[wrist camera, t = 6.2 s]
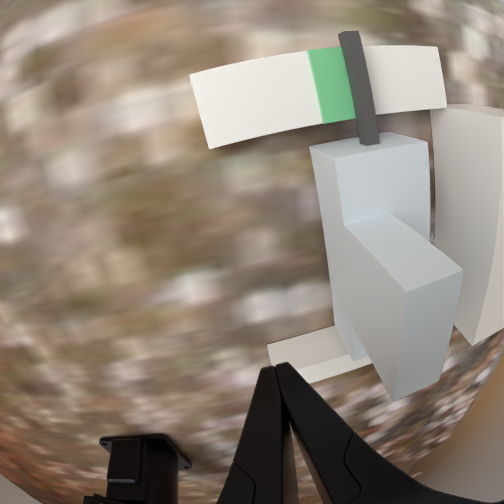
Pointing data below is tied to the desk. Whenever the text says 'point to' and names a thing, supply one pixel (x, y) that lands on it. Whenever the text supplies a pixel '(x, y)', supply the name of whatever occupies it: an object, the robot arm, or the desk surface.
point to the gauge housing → (385, 101)
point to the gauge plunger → (384, 245)
